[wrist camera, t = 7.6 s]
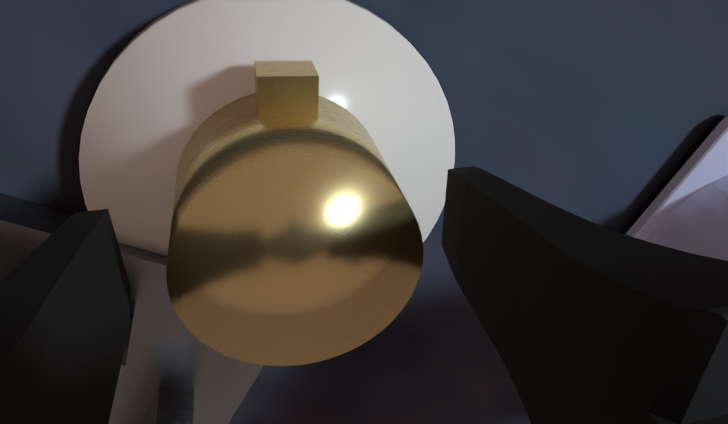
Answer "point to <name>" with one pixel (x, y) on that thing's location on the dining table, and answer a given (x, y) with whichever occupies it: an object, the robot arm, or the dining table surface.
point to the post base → (144, 335)
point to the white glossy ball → (237, 79)
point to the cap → (288, 227)
